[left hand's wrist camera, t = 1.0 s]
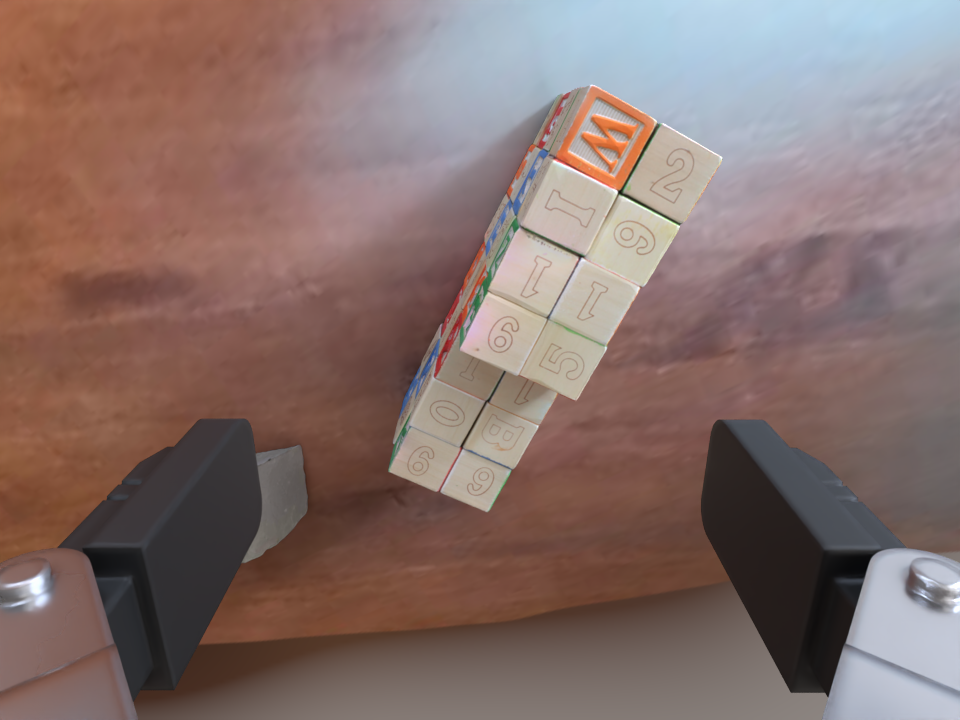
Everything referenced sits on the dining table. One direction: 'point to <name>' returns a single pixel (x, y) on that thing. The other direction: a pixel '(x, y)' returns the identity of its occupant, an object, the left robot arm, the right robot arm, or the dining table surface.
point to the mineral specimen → (279, 497)
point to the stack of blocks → (546, 289)
